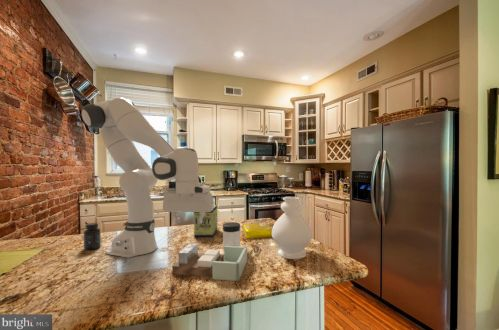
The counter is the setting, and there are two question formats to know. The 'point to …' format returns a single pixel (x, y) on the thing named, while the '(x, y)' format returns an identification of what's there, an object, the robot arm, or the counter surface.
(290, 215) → the decorative vase
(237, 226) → the jar
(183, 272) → the board
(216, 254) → the tile far
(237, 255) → the box
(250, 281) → the counter surface
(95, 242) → the supplement bottle
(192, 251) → the grey block
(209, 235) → the protein box
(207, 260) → the tile near
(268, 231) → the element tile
